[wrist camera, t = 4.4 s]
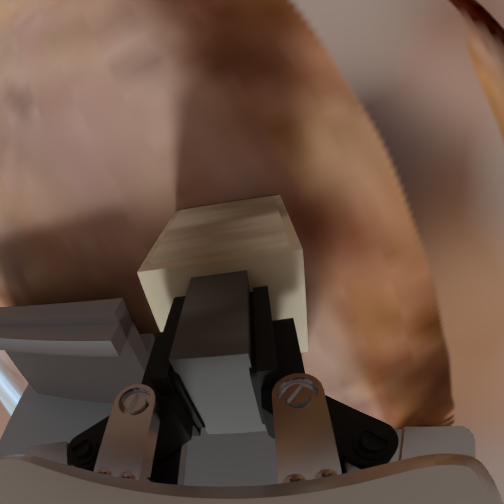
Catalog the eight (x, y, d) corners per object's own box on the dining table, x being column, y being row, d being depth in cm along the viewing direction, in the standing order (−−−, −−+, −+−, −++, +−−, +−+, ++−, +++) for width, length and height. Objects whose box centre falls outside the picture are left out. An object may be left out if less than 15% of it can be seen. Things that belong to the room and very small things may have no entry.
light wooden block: (279, 192, 16) (331, 320, 6) (288, 271, 18) (325, 428, 9) (175, 208, 16) (93, 342, 7) (195, 284, 19) (160, 439, 9)
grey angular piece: (288, 255, 18) (340, 464, 6) (298, 395, 24) (318, 526, 13) (-2, 293, 19) (-77, 387, 7) (65, 396, 25) (29, 486, 14)
